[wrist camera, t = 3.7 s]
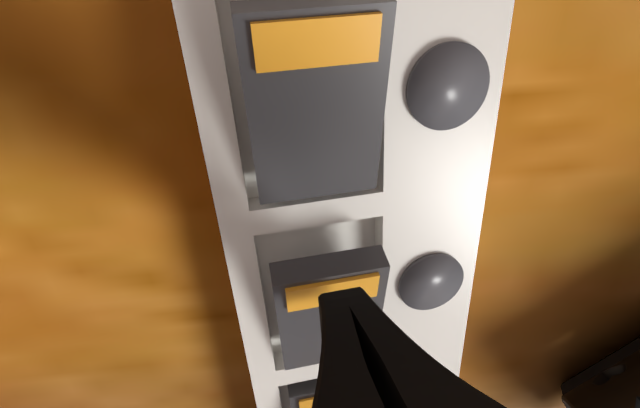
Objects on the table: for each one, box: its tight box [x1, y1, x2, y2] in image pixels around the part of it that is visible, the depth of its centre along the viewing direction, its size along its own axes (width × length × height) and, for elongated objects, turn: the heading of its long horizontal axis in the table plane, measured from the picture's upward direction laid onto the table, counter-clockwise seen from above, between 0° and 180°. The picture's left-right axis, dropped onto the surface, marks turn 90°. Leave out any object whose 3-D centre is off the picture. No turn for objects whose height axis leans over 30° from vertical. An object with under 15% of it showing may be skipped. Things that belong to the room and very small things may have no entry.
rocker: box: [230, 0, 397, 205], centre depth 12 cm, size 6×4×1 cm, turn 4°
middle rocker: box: [269, 245, 390, 370], centre depth 16 cm, size 6×4×1 cm, turn 4°
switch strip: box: [172, 0, 515, 408], centre depth 18 cm, size 27×10×3 cm, turn 4°
